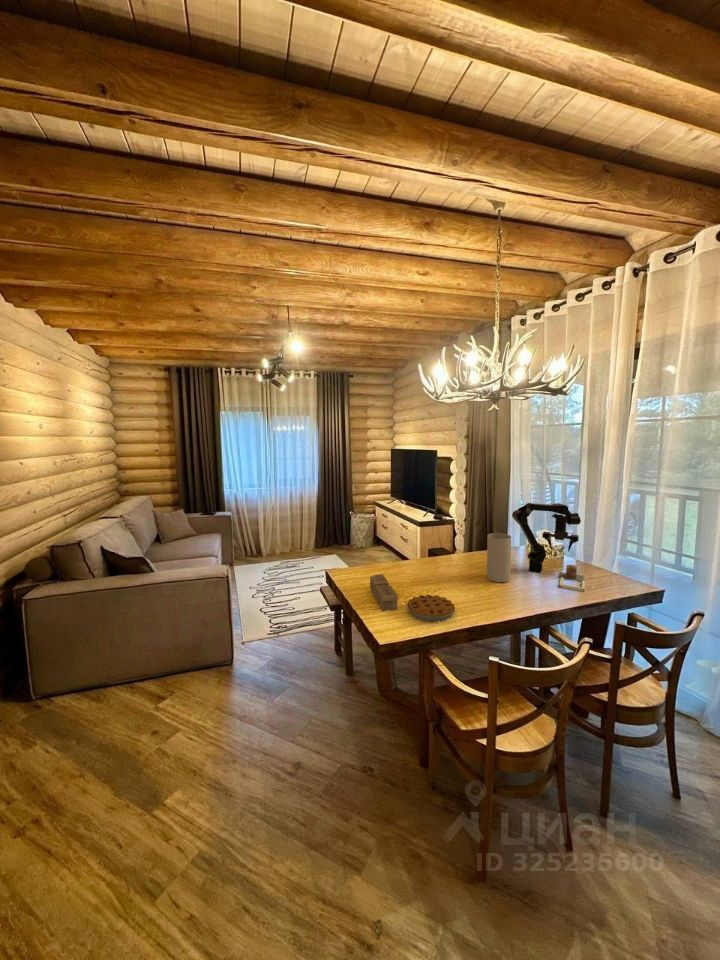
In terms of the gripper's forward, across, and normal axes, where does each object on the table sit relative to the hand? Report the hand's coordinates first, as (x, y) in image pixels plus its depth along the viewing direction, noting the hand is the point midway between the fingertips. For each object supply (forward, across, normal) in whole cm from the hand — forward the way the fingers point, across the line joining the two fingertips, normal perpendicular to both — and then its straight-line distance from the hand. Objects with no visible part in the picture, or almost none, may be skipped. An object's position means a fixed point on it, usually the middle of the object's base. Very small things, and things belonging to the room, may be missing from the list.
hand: (559, 550), depth 220 cm
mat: (+12, +7, -10) cm, 17 cm away
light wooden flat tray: (+12, +8, -22) cm, 26 cm away
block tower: (+12, -73, -87) cm, 114 cm away
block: (+12, +7, -10) cm, 17 cm away
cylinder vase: (+12, -28, -32) cm, 44 cm away
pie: (+12, -46, -89) cm, 101 cm away
